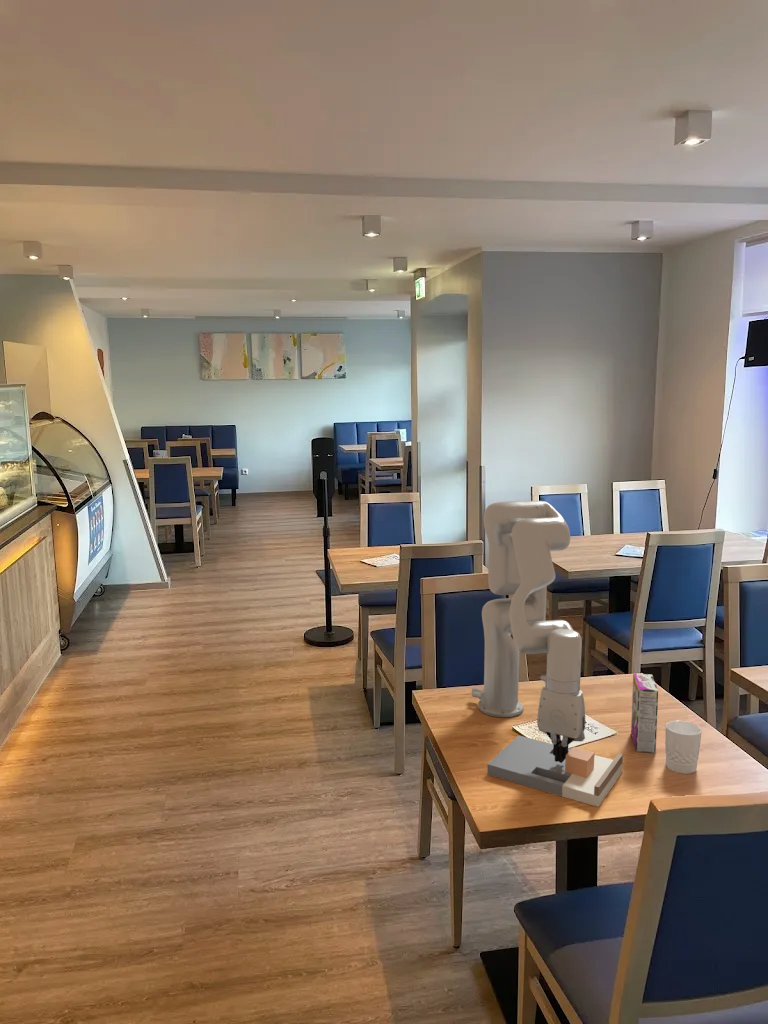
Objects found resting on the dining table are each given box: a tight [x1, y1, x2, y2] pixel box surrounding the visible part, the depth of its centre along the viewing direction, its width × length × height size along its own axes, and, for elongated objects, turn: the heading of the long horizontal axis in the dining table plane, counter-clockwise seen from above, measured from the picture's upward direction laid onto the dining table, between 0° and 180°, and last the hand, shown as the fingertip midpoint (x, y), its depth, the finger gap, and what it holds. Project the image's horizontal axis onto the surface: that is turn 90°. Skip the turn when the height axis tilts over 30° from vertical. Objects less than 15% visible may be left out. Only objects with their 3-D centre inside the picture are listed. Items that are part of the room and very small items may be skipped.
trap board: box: [486, 735, 624, 808], centre depth 175 cm, size 26×18×4 cm
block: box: [565, 746, 596, 778], centre depth 171 cm, size 5×5×4 cm
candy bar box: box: [630, 672, 659, 754], centre depth 189 cm, size 11×5×16 cm, turn 168°
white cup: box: [664, 719, 702, 775], centre depth 177 cm, size 8×8×10 cm
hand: (560, 759), depth 174 cm, fingers closed
